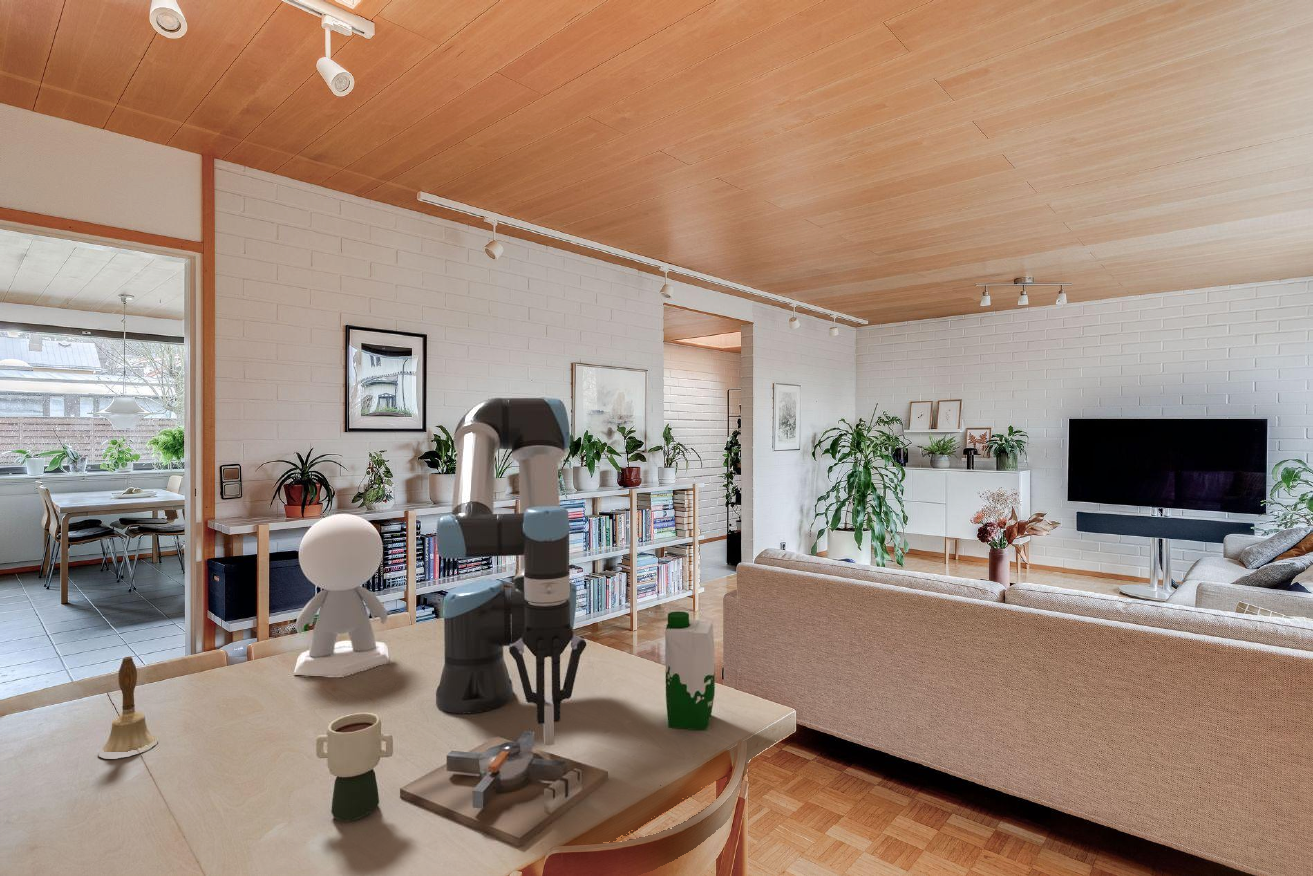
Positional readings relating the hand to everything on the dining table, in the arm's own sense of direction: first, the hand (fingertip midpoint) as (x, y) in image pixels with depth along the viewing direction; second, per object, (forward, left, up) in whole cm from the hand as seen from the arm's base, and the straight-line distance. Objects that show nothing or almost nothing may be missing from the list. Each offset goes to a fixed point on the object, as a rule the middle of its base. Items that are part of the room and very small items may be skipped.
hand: (548, 741), depth 113 cm
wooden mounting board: (+1, -11, -3) cm, 11 cm away
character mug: (-13, -27, -3) cm, 30 cm away
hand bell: (-65, -35, -3) cm, 74 cm away
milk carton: (+14, +24, -3) cm, 28 cm away
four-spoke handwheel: (+1, -11, -1) cm, 11 cm away
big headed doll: (-73, +11, -3) cm, 74 cm away
